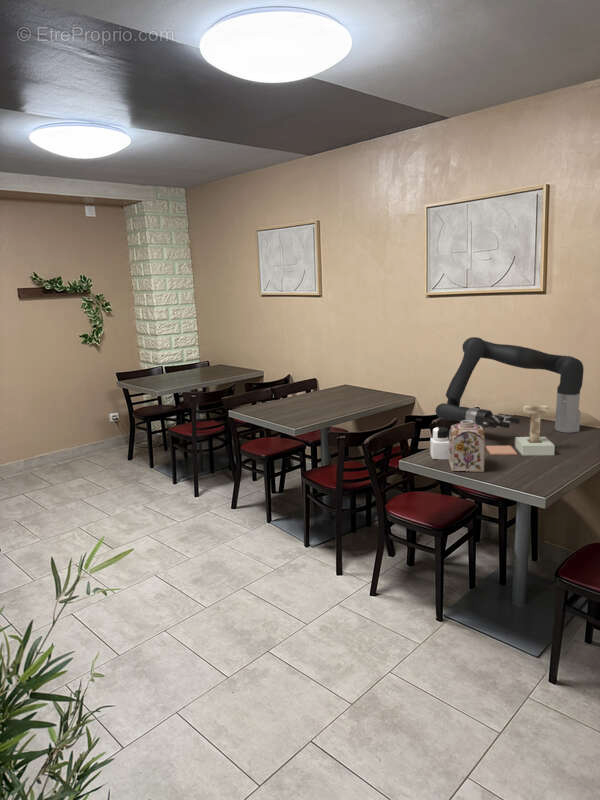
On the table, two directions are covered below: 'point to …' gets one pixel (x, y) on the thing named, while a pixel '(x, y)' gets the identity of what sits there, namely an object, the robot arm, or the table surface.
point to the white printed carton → (439, 443)
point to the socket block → (534, 446)
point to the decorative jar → (466, 447)
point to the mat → (501, 450)
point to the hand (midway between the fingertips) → (514, 423)
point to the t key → (535, 420)
